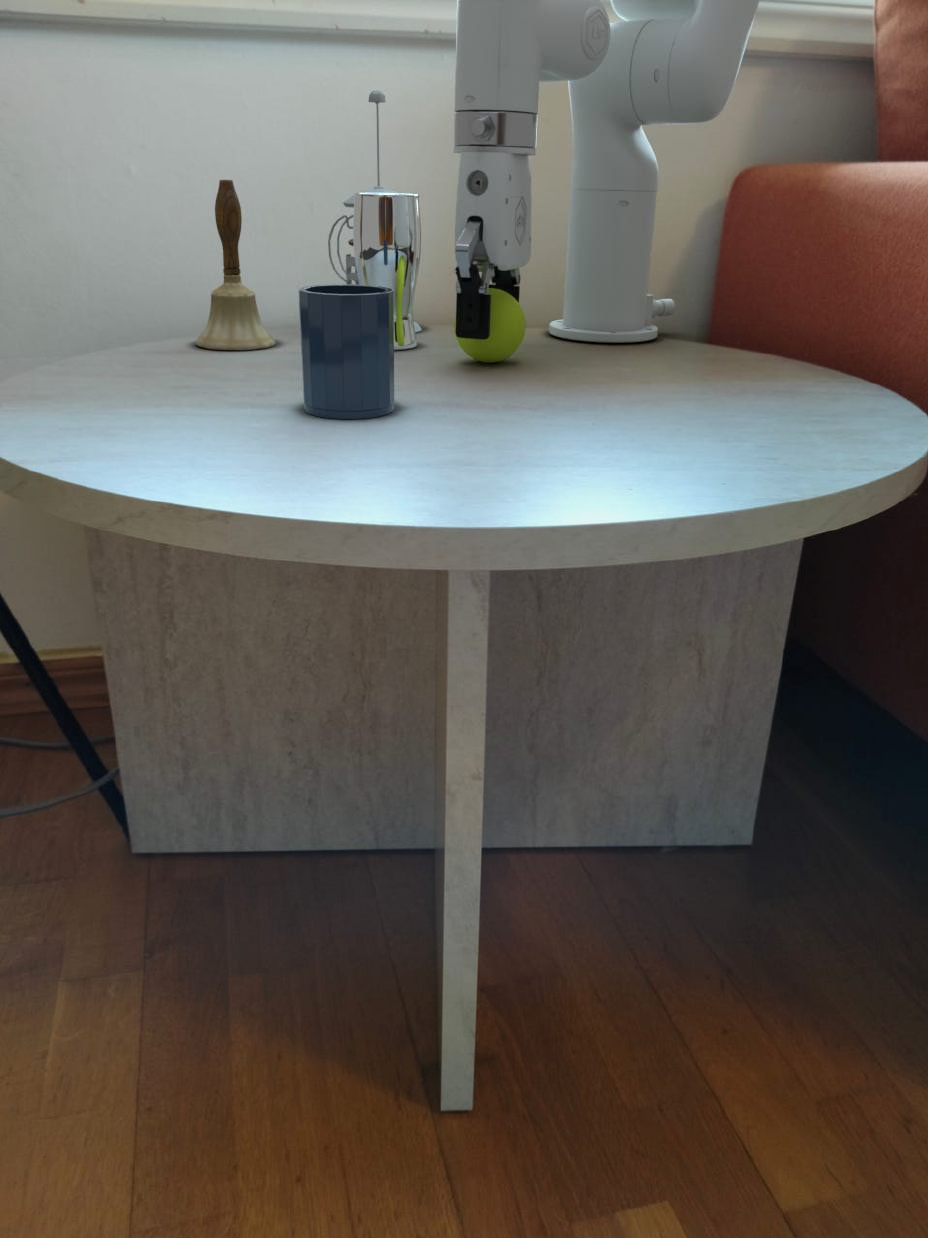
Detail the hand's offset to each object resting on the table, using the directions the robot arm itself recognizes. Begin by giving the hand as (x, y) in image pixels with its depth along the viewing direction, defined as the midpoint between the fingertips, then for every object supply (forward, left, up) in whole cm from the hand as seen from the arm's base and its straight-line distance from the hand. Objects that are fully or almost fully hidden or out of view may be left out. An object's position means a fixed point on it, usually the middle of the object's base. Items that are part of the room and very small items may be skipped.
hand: (487, 331), depth 96 cm
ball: (0, 0, +1) cm, 1 cm away
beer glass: (+4, -13, -3) cm, 14 cm away
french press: (-1, -25, -3) cm, 25 cm away
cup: (+22, +12, -3) cm, 25 cm away
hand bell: (+18, -21, -3) cm, 28 cm away
